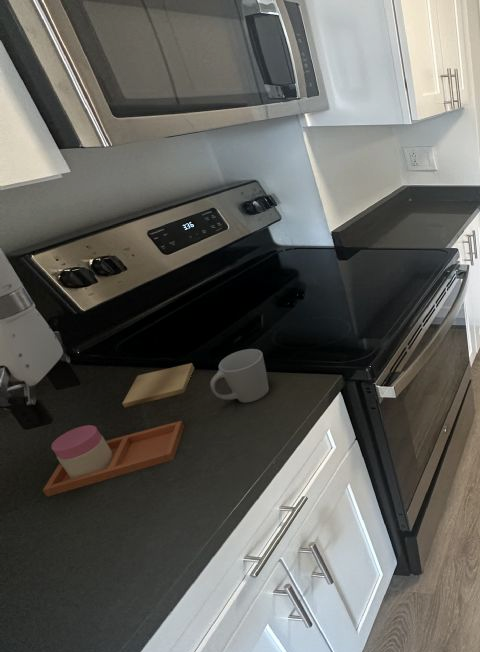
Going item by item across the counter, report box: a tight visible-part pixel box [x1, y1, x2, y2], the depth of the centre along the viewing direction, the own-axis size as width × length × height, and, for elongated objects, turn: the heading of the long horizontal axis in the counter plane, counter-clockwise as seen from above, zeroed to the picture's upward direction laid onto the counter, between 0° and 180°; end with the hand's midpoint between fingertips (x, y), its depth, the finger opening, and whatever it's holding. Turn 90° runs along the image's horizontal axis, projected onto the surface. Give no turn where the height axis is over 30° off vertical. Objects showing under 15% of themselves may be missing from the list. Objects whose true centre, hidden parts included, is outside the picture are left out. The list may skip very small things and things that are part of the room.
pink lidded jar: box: [50, 424, 114, 479], centre depth 70 cm, size 6×6×6 cm
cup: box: [210, 348, 270, 403], centre depth 85 cm, size 8×10×8 cm
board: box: [122, 362, 195, 408], centre depth 90 cm, size 10×10×2 cm
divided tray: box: [42, 420, 185, 498], centre depth 72 cm, size 16×9×2 cm, turn 115°
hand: (55, 404), depth 66 cm, fingers open, 9 cm apart
